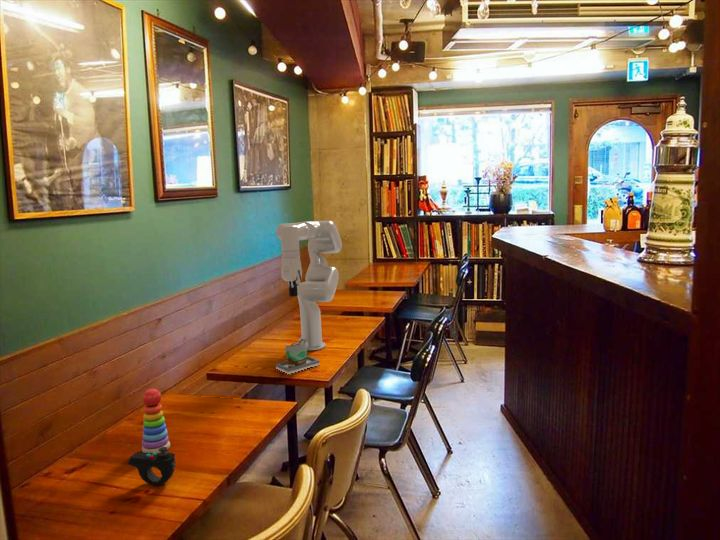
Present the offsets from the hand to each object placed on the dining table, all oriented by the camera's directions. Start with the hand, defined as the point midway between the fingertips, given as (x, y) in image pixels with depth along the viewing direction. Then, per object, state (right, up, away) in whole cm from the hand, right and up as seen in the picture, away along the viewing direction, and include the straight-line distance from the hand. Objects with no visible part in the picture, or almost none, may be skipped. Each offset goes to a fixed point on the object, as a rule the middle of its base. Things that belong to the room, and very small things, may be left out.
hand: (293, 295), depth 237 cm
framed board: (+2, -30, -5) cm, 31 cm away
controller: (-26, -45, -92) cm, 106 cm away
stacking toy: (-32, -43, -73) cm, 91 cm away
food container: (+4, -29, -6) cm, 30 cm away
